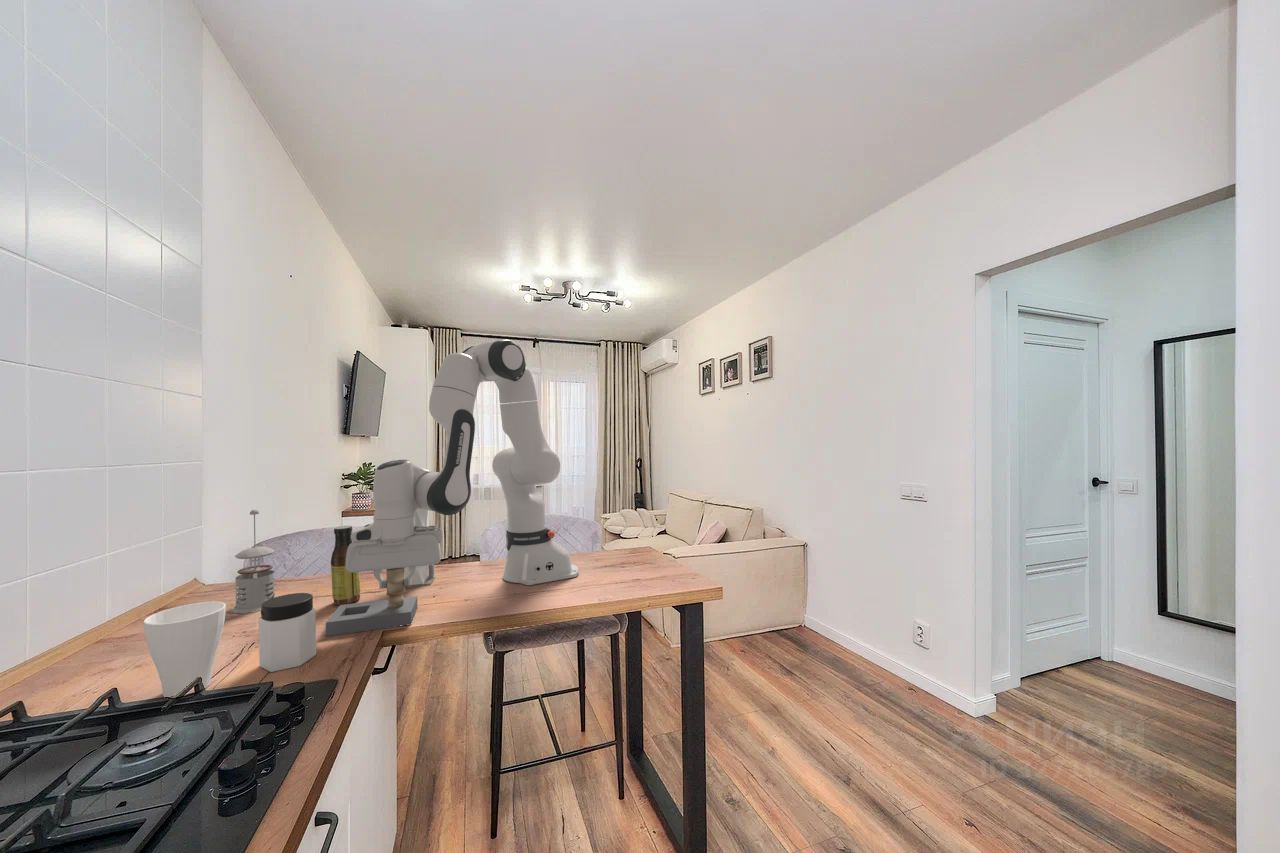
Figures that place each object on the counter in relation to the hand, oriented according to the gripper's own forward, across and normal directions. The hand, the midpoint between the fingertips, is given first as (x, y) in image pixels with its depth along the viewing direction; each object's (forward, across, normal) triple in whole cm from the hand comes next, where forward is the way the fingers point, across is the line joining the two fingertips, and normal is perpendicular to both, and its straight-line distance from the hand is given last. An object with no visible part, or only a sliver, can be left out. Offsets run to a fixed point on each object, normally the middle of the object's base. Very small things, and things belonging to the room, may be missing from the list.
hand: (395, 586), depth 114 cm
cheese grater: (+8, -2, -27) cm, 28 cm away
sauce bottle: (+8, +14, -17) cm, 24 cm away
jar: (+8, +16, +16) cm, 24 cm away
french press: (+8, +36, -23) cm, 44 cm away
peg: (+5, 0, 0) cm, 5 cm away
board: (+8, +4, 0) cm, 9 cm away
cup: (+8, +30, +22) cm, 38 cm away
